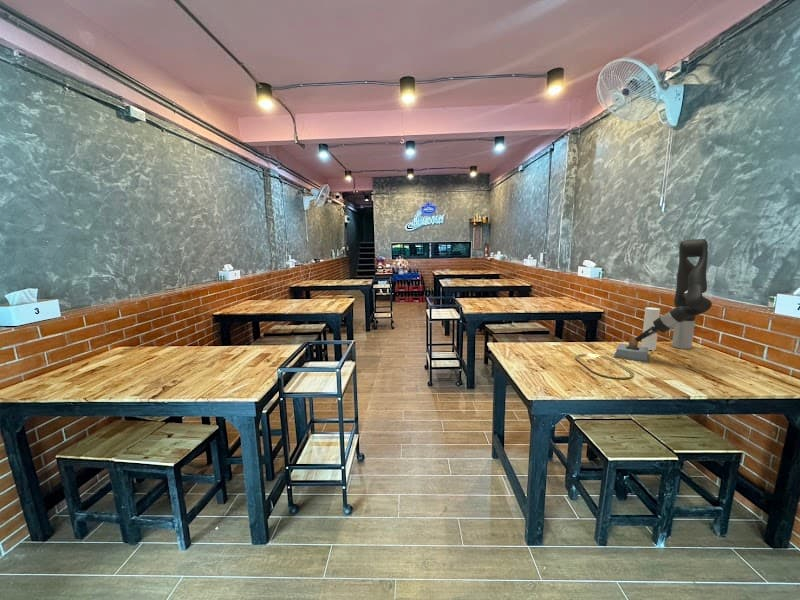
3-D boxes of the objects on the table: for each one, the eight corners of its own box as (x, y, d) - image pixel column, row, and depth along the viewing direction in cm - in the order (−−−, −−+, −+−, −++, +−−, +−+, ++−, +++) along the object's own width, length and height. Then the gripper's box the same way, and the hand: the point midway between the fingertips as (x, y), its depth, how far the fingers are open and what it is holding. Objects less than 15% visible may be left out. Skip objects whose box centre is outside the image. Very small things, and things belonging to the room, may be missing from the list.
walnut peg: (628, 353, 192) (629, 337, 191) (636, 354, 190) (638, 338, 188) (627, 355, 189) (629, 339, 188) (636, 356, 187) (638, 340, 185)
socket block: (616, 350, 201) (617, 342, 200) (649, 355, 191) (650, 347, 190) (613, 357, 188) (614, 349, 188) (649, 363, 179) (649, 354, 178)
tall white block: (655, 348, 203) (659, 308, 199) (656, 351, 197) (660, 310, 193) (640, 347, 207) (644, 307, 203) (641, 350, 201) (645, 309, 197)
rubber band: (603, 356, 191) (603, 354, 191) (642, 380, 157) (643, 377, 156) (569, 356, 193) (569, 353, 192) (600, 380, 158) (601, 376, 158)
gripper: (665, 314, 181) (638, 331, 192) (656, 318, 173) (629, 335, 184) (676, 325, 178) (648, 342, 189) (668, 330, 169) (639, 346, 180)
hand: (639, 338), depth 186 cm, fingers open, 8 cm apart
